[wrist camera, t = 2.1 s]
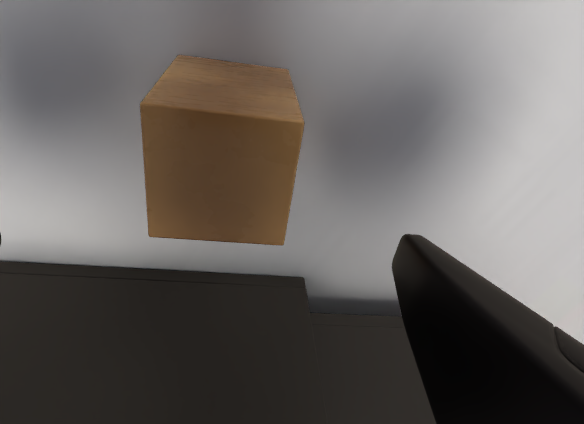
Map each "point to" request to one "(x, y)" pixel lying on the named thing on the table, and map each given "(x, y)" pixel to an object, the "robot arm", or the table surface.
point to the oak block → (220, 151)
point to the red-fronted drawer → (368, 371)
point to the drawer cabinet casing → (155, 347)
